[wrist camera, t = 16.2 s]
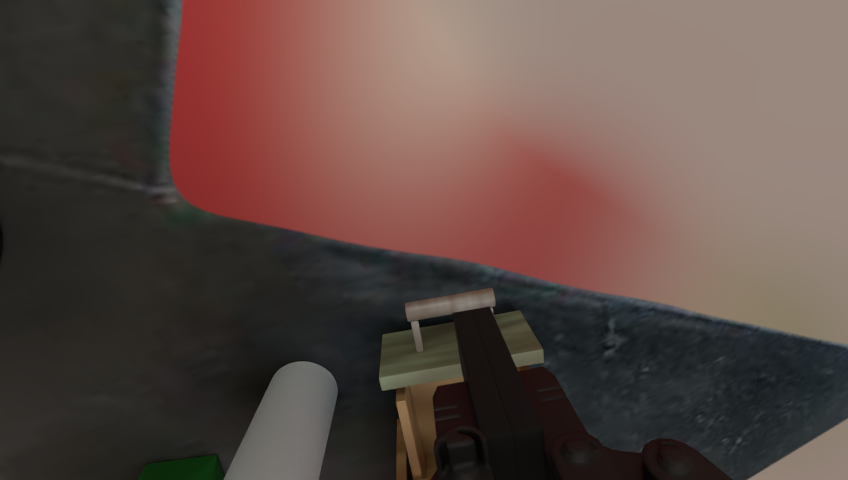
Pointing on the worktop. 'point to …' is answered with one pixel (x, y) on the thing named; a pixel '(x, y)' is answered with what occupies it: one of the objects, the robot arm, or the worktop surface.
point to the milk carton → (184, 469)
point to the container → (288, 427)
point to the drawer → (439, 365)
